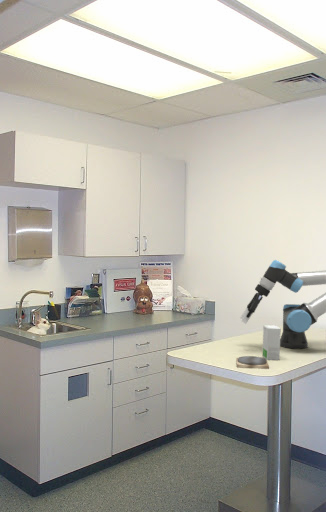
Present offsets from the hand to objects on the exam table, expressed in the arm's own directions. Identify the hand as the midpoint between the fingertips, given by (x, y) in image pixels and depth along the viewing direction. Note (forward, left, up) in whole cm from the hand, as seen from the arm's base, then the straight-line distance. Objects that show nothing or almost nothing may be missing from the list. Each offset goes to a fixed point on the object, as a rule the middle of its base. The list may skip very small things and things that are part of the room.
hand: (242, 320), depth 257 cm
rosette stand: (-3, +34, -15) cm, 37 cm away
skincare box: (-13, +19, -15) cm, 28 cm away
